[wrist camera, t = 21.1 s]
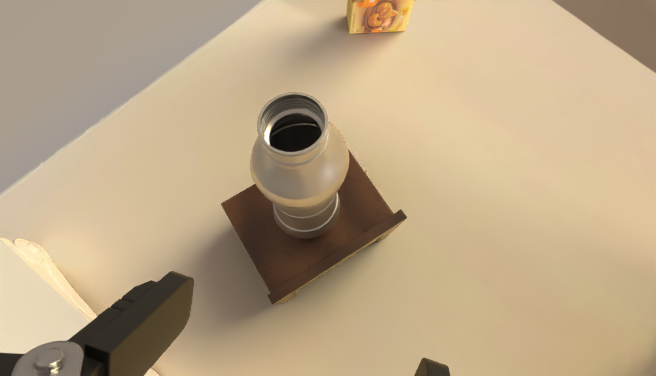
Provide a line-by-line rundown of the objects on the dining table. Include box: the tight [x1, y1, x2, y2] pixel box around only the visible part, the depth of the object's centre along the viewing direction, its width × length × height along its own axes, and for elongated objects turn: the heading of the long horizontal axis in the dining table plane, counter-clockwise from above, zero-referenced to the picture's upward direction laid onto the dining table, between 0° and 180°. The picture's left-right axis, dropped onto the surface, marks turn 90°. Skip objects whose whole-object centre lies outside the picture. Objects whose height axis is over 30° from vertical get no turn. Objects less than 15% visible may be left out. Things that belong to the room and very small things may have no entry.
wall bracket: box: [0, 238, 159, 376], centre depth 39 cm, size 10×7×28 cm
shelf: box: [221, 149, 407, 304], centre depth 39 cm, size 15×12×11 cm
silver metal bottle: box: [250, 92, 349, 239], centre depth 27 cm, size 6×7×20 cm
